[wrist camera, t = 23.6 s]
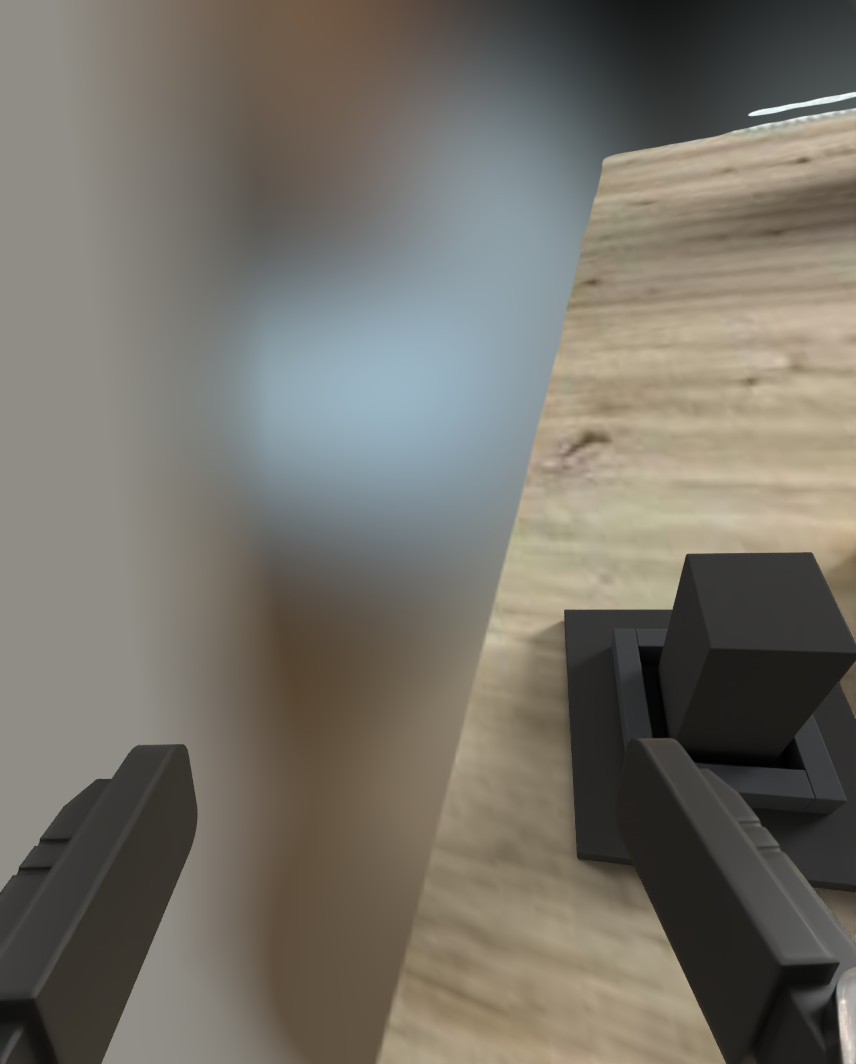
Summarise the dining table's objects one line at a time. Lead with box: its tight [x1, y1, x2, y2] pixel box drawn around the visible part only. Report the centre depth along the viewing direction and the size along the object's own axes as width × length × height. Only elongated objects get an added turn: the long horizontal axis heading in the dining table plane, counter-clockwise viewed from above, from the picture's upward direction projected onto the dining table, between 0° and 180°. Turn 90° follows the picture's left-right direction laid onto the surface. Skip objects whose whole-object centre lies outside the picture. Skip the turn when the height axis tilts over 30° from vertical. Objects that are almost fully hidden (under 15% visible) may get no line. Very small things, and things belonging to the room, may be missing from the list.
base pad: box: [564, 610, 856, 892], centre depth 26 cm, size 14×14×3 cm
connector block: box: [656, 552, 856, 767], centre depth 22 cm, size 5×5×11 cm
